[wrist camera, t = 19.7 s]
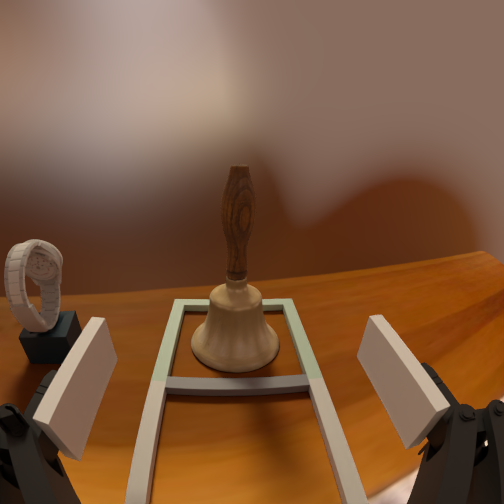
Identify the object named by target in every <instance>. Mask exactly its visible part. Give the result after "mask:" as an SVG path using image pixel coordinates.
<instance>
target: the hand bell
mask: <svg viewBox="0 0 504 504" xmlns="http://www.w3.org/2000/svg"><path fill="white" fill-rule="evenodd" d="M255 209H256V198H255V192H254V188H253V184H252V181H251V178H250V173H249V167H248V165H231V168H230V172H229V176H228V179H227V181H226V184H225V187H224V190H223V194H222V200H221V219H222V226H223V231H224V234H225V237H226V241H227V248H228V249H227V270H226V276H227V277H226V284H223V285H220V286H218V287H216V288H215V289H214V290H213V291H212V292H211V295H210V302H209V309H208V314H207V318H206V320H205V322H204V323H202V324H201V325H200V326H199V327H198V328H197V329H196V331H195V333H194V334H193V336H192V340H191V347H192V350H193V353H194V354H195V356H196V357H197V358H198V359H199V360H200V361H201V362H202V363H204V364H205V365H207V366H209V367H211V368H213V369H216V370H219V371H224V372H232V373H240V372H249V371H253V370H256V369H259V368H261V367H263V366H265V365H266V364H268V363H269V362H271V361H272V360H273V359H274V358H275V356H276V355H277V352H278V350H279V340H278V337H277V335H276V333H275V331H274V330H273V329H272V328H271V327H270V326H269V325H268V324H267V323H266V321H265V318H264V314H263V305H262V296H261V293H260V292H259V291H258V290H257V289H256V288H255V287H253V286H250V285H247V245H248V241H249V237H250V235H251V232H252V229H253V225H254V219H255Z"/></svg>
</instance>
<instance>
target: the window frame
mask: <svg viewBox="0 0 504 504" xmlns="http://www.w3.org/2000/svg"><path fill="white" fill-rule="evenodd" d="M209 302H210V300H198V299H175V302H174V305H173V308H172V311H171V314H170V317H169V321H168V324H167V327H166V330H165V334H164V337H163V340H162V344H161V347H160V351H159V354H158V358H157V361H156V365H155V368H154V372H153V376H152V379H151V383H150V387H149V391H148V395H147V398H146V402H145V406H144V410H143V415H142V419H141V423H140V427H139V432H138V436H137V441H136V445H135V450H134V455H133V460H132V465H131V470H130V475H129V481H128V486H127V492H126V498H125V504H149V503H150V495H151V487H152V479H153V471H154V464H155V458H156V451H157V445H158V438H159V432H160V427H161V421H162V415H163V410H164V404H165V399H166V394H179V395H200V396H247V395H269V394H283V393H294V392H304V391H309V395H310V398H311V401H312V404H313V407H314V411H315V414H316V417H317V420H318V424H319V427H320V430H321V433H322V437H323V440H324V443H325V447H326V450H327V453H328V456H329V460H330V463H331V466H332V470H333V473H334V476H335V480H336V483H337V487H338V490H339V493H340V497H341V500H342V504H369V503H368V500H367V497H366V494H365V491H364V489H363V486H362V483H361V480H360V477H359V474H358V471H357V469H356V466H355V463H354V460H353V457H352V455H351V452H350V449H349V446H348V444H347V441H346V438H345V435H344V433H343V430H342V427H341V425H340V422H339V419H338V417H337V414H336V411H335V409H334V406H333V403H332V401H331V398H330V395H329V393H328V390H327V387H326V385H325V382H324V380H323V377H322V374H321V372H320V369H319V367H318V364H317V361H316V359H315V356H314V354H313V351H312V349H311V346H310V344H309V341H308V339H307V336H306V333H305V331H304V328H303V326H302V323H301V321H300V318H299V316H298V313H297V311H296V308H295V306H294V303H293V301H292V299H262V305H263V311H275V310H283V313H284V316H285V319H286V322H287V325H288V328H289V331H290V335H291V338H292V341H293V344H294V347H295V350H296V353H297V357H298V360H299V363H300V366H301V369H302V372H303V374H302V375H291V376H277V377H258V378H189V377H170V374H171V369H172V364H173V360H174V355H175V350H176V346H177V342H178V337H179V333H180V328H181V324H182V320H183V316H184V312H185V311H208V309H209Z"/></svg>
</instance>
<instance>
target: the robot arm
mask: <svg viewBox="0 0 504 504" xmlns="http://www.w3.org/2000/svg"><path fill="white" fill-rule="evenodd" d="M357 358H358V359H359V361H360V363H361V365H362V367H363V368H364V370H365V372H366V374H367V376H368V377H369V379H370V381H371V383H372V385H373V387H374V388H375V390H376V392H377V394H378V396H379V398H380V400H381V401H382V403H383V405H384V407H385V409H386V411H387V413H388V415H389V417H390V419H391V420H392V422H393V424H394V426H395V428H396V430H397V432H398V434H399V436H400V438H401V440H402V442H403V444H404V446H405V448H406V450H407V449H409V448H412V447H414V446H416V445H419V444H420V443H421V442H422V441H423V440H424V439H425V437H427V439H428V442H427V443H426V445H425V446H424V447H423V448H422V449H421V450H420V451H419V453H418V455H420V454H421V453H422V452H423V451H424V454H423V458H422V461H421V465H420V468H419V471H418V474H417V478H416V481H415V484H414V486H413V489H412V492H411V495H410V497H409V500H408V502H407V504H504V403H503V402H502V401H500V400H492V401H491V402H490V403H489V404H488V406H487V407H486V408H484V409H477V410H475V409H474V408H473V407H471V406H469V405H467V404H461V405H460V404H459V403H458V402H457V400H456V399H455V397H454V396H453V395H452V393H451V392H450V391H449V389H448V388H447V386H446V385H445V384H444V383H443V381H442V380H441V378H440V377H438V374H437V373H436V372H435V371H434V369H433V368H432V367H430V366H429V365H427V364H426V363H425V362H424V363H421V364H420V363H419V362H418V360H417V359H416V358H415V356H414V355H413V354H412V352H411V351H410V350H409V349H408V347H407V346H406V345H405V343H404V342H403V341H402V340H401V338H400V337H399V336H398V335H397V333H396V332H395V331H394V330H393V328H392V327H391V326H390V325H389V323H388V322H387V321H386V320H385V318H384V317H383V316H382V315H375V316H369V319H368V322H367V326H366V329H365V332H364V336H363V339H362V342H361V345H360V348H359V351H358V354H357ZM117 360H118V359H117V356H116V353H115V350H114V347H113V344H112V341H111V337H110V334H109V330H108V327H107V323H106V320H105V318H98V317H92V318H91V319H90V321H89V322H88V324H87V325H86V327H85V328H84V330H83V331H82V333H81V334H80V336H79V338H78V339H77V341H76V342H75V344H74V345H73V347H72V349H71V350H70V352H69V353H68V355H67V357H66V358H65V360H64V362H63V363H62V365H61V367H60V368H59V370H58V371H56V370H51V371H50V372H49V373H48V374H46V375H45V376H44V378H43V379H42V381H41V383H40V386H38V388H37V390H36V393H34V395H33V397H32V399H31V400H30V402H29V404H28V406H27V408H26V410H25V412H24V414H23V415H22V413H21V412H20V411H19V409H18V408H17V407H16V406H15V405H13V404H10V403H7V404H3V405H1V406H0V504H81V502H80V500H79V498H78V496H77V495H76V493H75V491H74V489H73V487H72V485H71V483H70V481H69V478H68V476H67V474H66V472H65V470H64V467H63V465H62V463H61V460H60V458H59V457H58V455H57V454H58V451H59V450H60V451H61V452H62V453H63V454H64V455H65V456H66V457H69V458H72V459H75V460H78V461H81V457H82V454H83V451H84V448H85V445H86V442H87V439H88V436H89V433H90V430H91V427H92V424H93V421H94V418H95V416H96V413H97V410H98V408H99V405H100V402H101V400H102V397H103V394H104V392H105V389H106V387H107V384H108V382H109V379H110V377H111V374H112V372H113V369H114V367H115V365H116V362H117ZM486 440H487V441H488V445H487V446H485V443H484V442H485V441H486Z"/></svg>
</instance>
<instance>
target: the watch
mask: <svg viewBox="0 0 504 504" xmlns="http://www.w3.org/2000/svg"><path fill="white" fill-rule="evenodd" d="M62 262H63V259H62V255H61V254H60V252H59V250H57V248H56V247H54V246H53V245H52V244H50V243H48V242H45V241H42V240H29V241H26V242H24V243H23V244H16V245H15V246H13V247H12V249H11V250H10V251H9V253H8V256H7V259H6V263H5V275H4V278H5V290H6V291H7V292H6V295H7V299H8V301H9V304H10V307H11V308H10V310H11V312H12V313H13V315H14V316H15V318H16V319H17V321H18V322H19V323H20V324H21V325H22V326H23V327H24V328H23V330H22V332H21V334H20V336H19V340H20V342H21V344H22V346H23V348H24V351H25V353H26V355H27V357H28V359H29V361H30V363H40V364H62V363H63V362H64V360H65V358H66V357H67V355H68V353H69V352H70V350H71V349H72V347H73V345H74V344H75V342H76V341H77V339H78V338H79V336H80V334H81V333H82V330H81V327H80V324H79V321H78V318H77V315H76V311H63V312H59V311H60V290H57V289H60V285H59V284H61V267H62ZM25 275H27V276H29V277H30V278H32V280H33V281H34V282H35V284H36V285H39V284H40V289H41V299H42V300H41V307H42V308H41V313H38V312H37V310H36V308H35V307H34V305H33V304H30V302H29V300H28V298H27V294H26V291H25V279H24V278H25ZM7 279H8V280H7ZM10 283H11V284H10ZM46 293H49V294H46Z"/></svg>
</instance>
